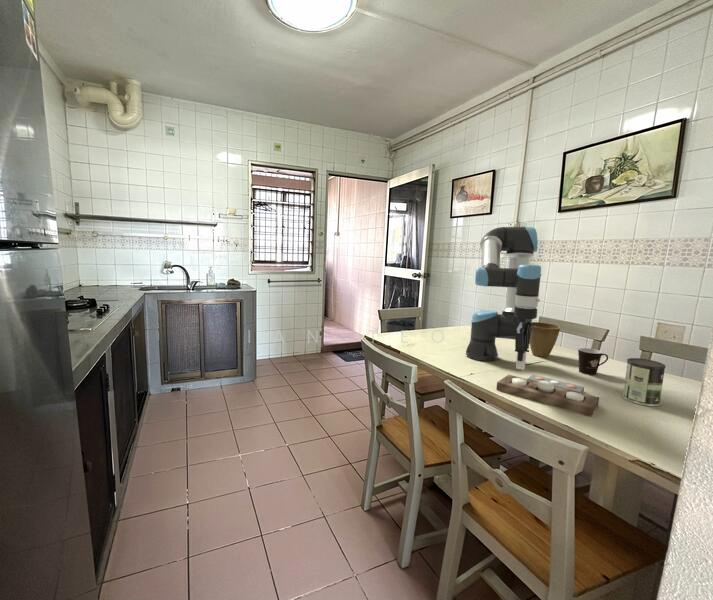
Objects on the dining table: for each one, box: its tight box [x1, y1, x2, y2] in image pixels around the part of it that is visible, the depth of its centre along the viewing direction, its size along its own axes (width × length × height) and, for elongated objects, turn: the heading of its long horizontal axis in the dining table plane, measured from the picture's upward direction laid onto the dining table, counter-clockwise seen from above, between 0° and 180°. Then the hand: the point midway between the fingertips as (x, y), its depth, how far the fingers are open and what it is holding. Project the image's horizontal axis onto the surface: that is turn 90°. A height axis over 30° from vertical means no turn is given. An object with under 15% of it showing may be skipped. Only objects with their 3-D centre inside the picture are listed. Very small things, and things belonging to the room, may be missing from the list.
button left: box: [512, 377, 527, 387], centre depth 126 cm, size 5×5×2 cm
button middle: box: [538, 381, 554, 393], centre depth 120 cm, size 5×5×2 cm
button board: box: [496, 374, 600, 418], centre depth 120 cm, size 30×12×3 cm, turn 46°
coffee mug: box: [577, 347, 609, 376], centre depth 146 cm, size 12×9×10 cm
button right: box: [566, 392, 584, 402], centre depth 114 cm, size 5×5×2 cm
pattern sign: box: [527, 374, 585, 394], centre depth 130 cm, size 18×7×2 cm, turn 46°
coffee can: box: [622, 357, 666, 407], centre depth 119 cm, size 10×10×14 cm
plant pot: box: [529, 321, 561, 358], centre depth 172 cm, size 15×15×16 cm
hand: (520, 368), depth 126 cm, fingers closed
